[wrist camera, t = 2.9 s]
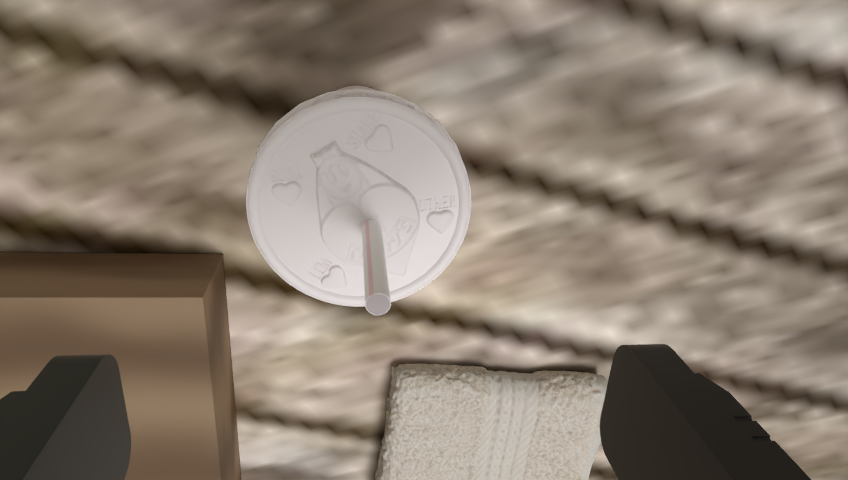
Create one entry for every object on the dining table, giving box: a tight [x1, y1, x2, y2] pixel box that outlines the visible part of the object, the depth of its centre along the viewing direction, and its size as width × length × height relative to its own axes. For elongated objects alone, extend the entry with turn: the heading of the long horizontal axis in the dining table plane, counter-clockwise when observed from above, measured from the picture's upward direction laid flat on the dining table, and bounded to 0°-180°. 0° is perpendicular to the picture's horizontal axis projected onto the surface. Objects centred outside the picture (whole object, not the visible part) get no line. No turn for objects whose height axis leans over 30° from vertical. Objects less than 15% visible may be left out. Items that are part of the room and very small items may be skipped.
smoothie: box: [246, 86, 471, 315], centre depth 19 cm, size 6×6×14 cm
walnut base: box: [0, 252, 241, 480], centre depth 28 cm, size 18×14×4 cm
